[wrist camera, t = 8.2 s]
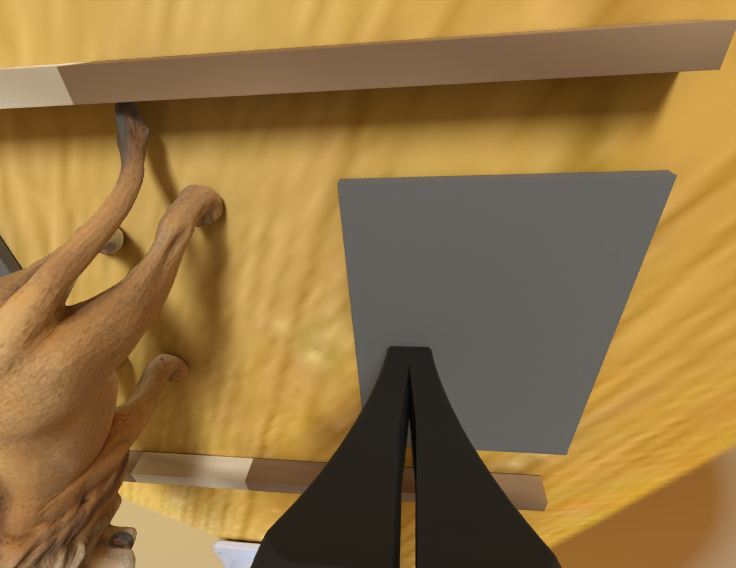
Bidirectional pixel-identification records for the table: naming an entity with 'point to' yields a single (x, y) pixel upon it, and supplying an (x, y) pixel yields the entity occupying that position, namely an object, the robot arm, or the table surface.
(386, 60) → the wooden sticks
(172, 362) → the lion figurine
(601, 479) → the table surface
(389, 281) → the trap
